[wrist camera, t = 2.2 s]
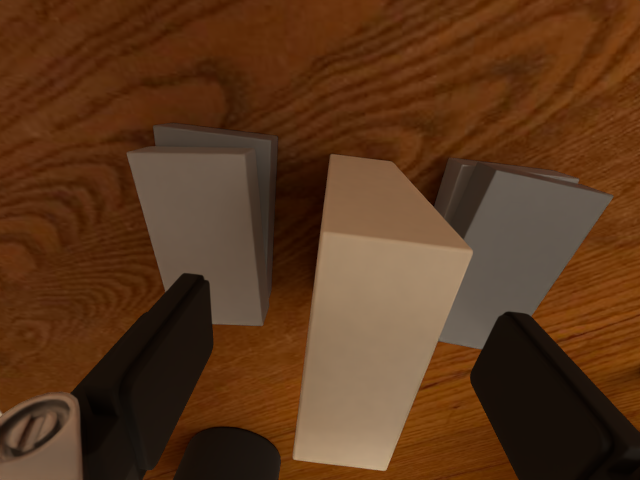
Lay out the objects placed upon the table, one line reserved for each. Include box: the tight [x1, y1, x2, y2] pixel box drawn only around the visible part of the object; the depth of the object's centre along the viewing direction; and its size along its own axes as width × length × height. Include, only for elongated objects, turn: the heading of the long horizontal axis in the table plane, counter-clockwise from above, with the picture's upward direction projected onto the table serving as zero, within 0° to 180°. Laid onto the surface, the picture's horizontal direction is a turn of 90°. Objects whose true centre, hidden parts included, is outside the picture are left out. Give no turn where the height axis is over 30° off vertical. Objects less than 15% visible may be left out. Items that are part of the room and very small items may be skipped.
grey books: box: [127, 123, 613, 349], centre depth 14 cm, size 9×18×3 cm, turn 84°
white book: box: [293, 154, 473, 471], centre depth 11 cm, size 8×3×9 cm, turn 174°
